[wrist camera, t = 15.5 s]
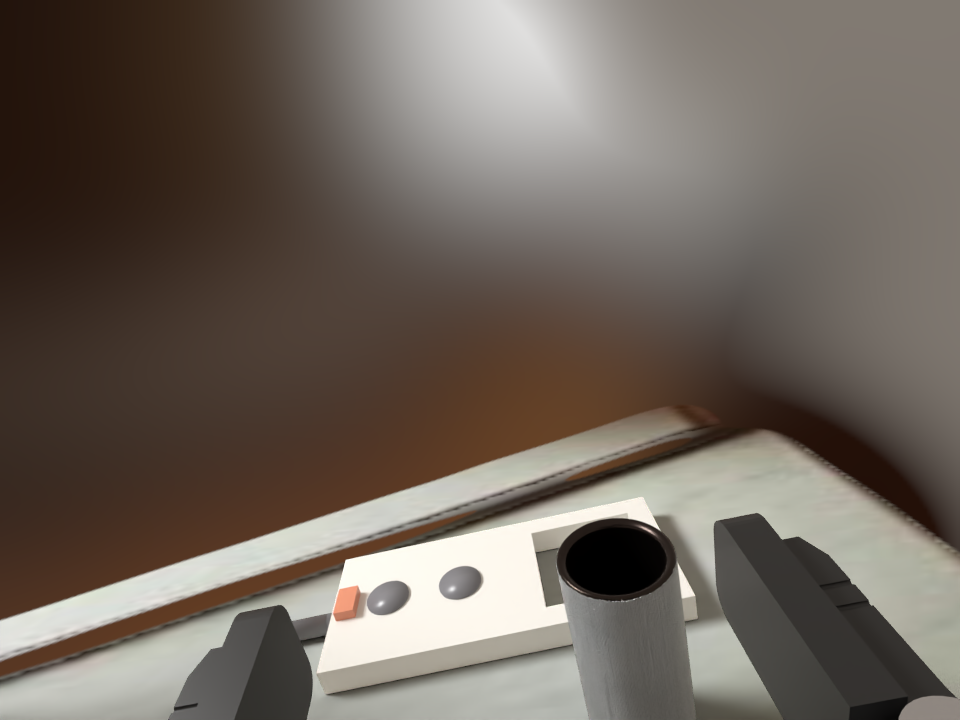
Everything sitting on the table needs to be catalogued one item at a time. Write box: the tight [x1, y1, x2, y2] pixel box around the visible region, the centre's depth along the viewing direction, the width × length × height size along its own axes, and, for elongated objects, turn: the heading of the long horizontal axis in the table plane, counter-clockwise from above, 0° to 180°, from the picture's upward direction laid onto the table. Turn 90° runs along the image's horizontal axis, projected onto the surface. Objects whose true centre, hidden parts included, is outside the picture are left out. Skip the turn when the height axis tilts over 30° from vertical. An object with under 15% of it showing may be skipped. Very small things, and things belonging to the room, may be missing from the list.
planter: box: [556, 518, 696, 720], centre depth 24 cm, size 4×4×10 cm
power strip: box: [292, 497, 698, 694], centre depth 35 cm, size 28×9×2 cm, turn 92°
